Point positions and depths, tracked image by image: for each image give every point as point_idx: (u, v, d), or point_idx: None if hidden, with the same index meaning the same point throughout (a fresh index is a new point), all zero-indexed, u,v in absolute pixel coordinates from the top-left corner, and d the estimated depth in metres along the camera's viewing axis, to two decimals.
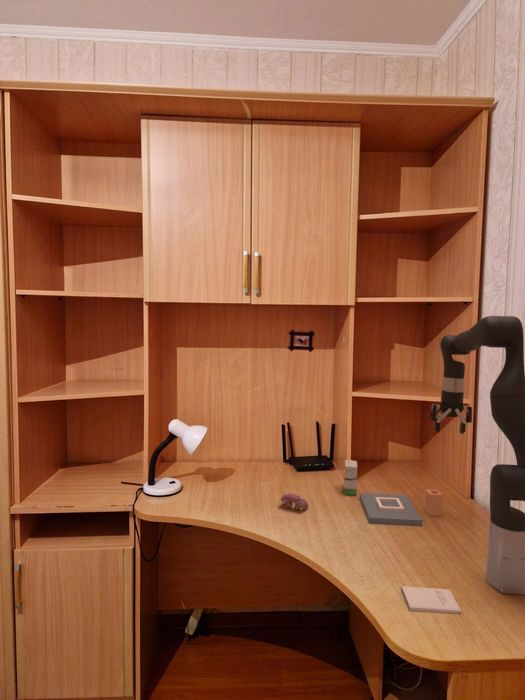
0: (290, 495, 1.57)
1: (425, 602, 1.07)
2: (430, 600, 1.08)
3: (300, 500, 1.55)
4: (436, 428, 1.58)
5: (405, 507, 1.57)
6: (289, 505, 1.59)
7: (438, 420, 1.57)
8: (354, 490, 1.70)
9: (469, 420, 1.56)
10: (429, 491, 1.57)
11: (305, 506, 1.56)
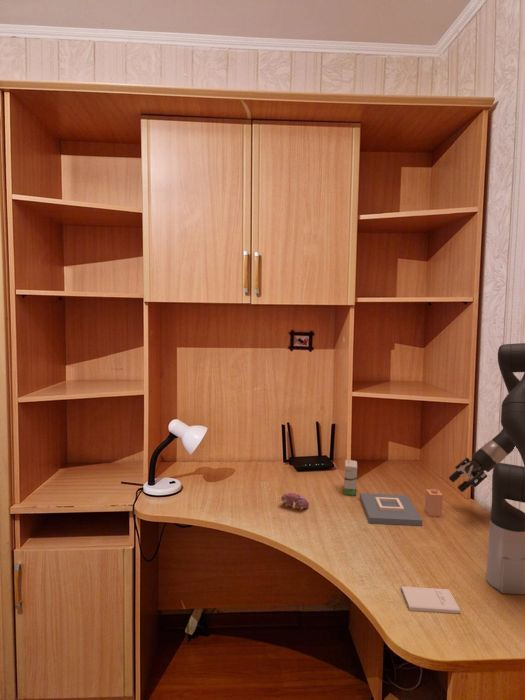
0: (291, 494, 1.58)
1: (425, 602, 1.07)
2: (430, 600, 1.08)
3: (301, 499, 1.56)
4: None
5: (405, 507, 1.57)
6: (290, 504, 1.59)
7: (457, 469, 1.60)
8: (354, 490, 1.70)
9: (471, 480, 1.49)
10: (429, 491, 1.57)
11: (306, 505, 1.57)
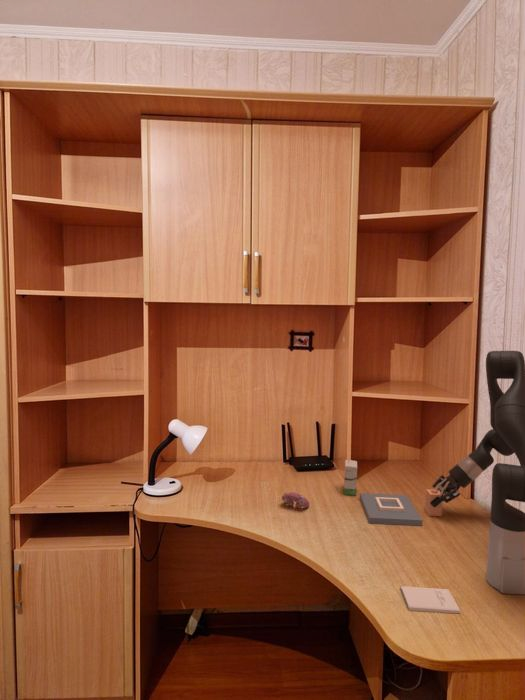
0: (291, 494, 1.58)
1: (424, 602, 1.07)
2: (429, 600, 1.08)
3: (301, 499, 1.56)
4: None
5: (405, 507, 1.57)
6: (290, 504, 1.60)
7: (434, 488, 1.59)
8: (354, 490, 1.70)
9: (442, 495, 1.52)
10: (429, 491, 1.57)
11: (306, 505, 1.57)
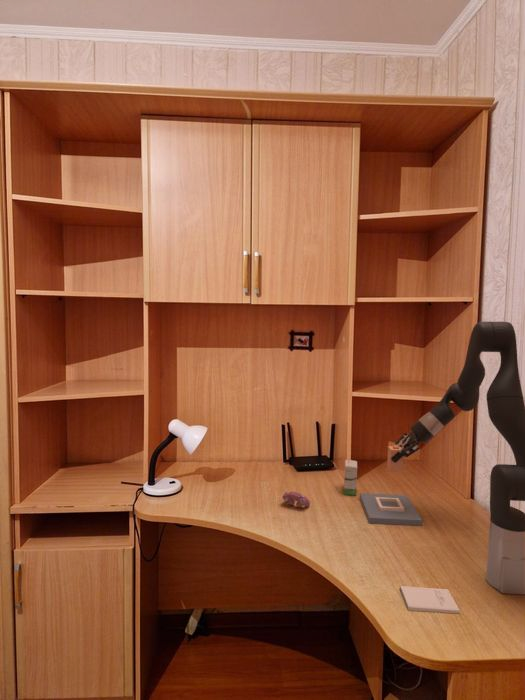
0: (292, 493, 1.59)
1: (424, 602, 1.07)
2: (429, 600, 1.08)
3: (302, 498, 1.57)
4: None
5: (405, 507, 1.57)
6: (291, 503, 1.60)
7: None
8: (354, 490, 1.70)
9: (402, 450, 1.51)
10: (391, 447, 1.57)
11: (307, 504, 1.58)
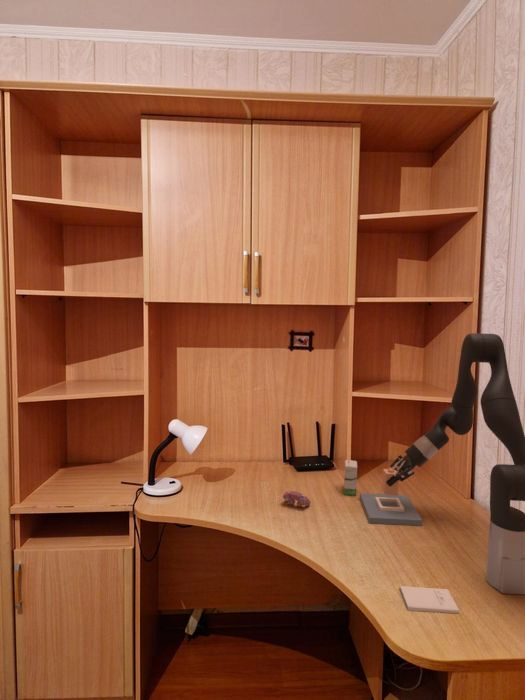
0: (292, 492, 1.59)
1: (423, 602, 1.07)
2: (428, 600, 1.08)
3: (302, 497, 1.57)
4: None
5: (405, 507, 1.57)
6: (291, 502, 1.61)
7: None
8: (354, 490, 1.70)
9: (398, 474, 1.52)
10: (386, 470, 1.57)
11: (307, 503, 1.58)
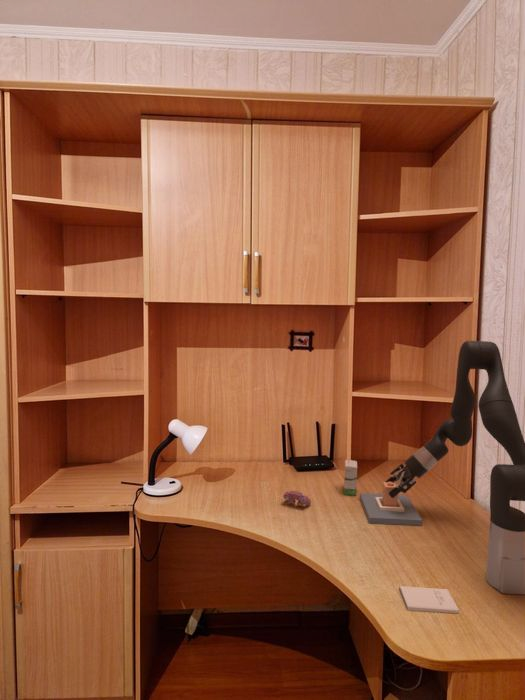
0: (293, 492, 1.60)
1: (423, 602, 1.07)
2: (428, 600, 1.08)
3: (303, 497, 1.58)
4: (386, 481, 1.62)
5: (405, 507, 1.57)
6: (292, 502, 1.61)
7: (391, 475, 1.61)
8: (354, 490, 1.70)
9: (400, 486, 1.51)
10: (385, 484, 1.58)
11: (308, 503, 1.59)
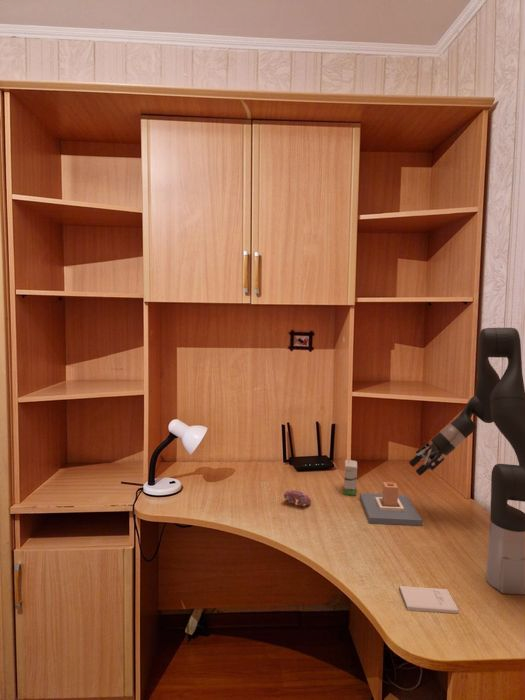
0: (293, 492, 1.60)
1: (423, 602, 1.07)
2: (428, 600, 1.08)
3: (303, 496, 1.58)
4: (411, 460, 1.60)
5: (405, 507, 1.57)
6: (292, 501, 1.62)
7: (417, 453, 1.60)
8: (354, 490, 1.70)
9: (428, 463, 1.49)
10: (385, 484, 1.58)
11: (308, 502, 1.59)
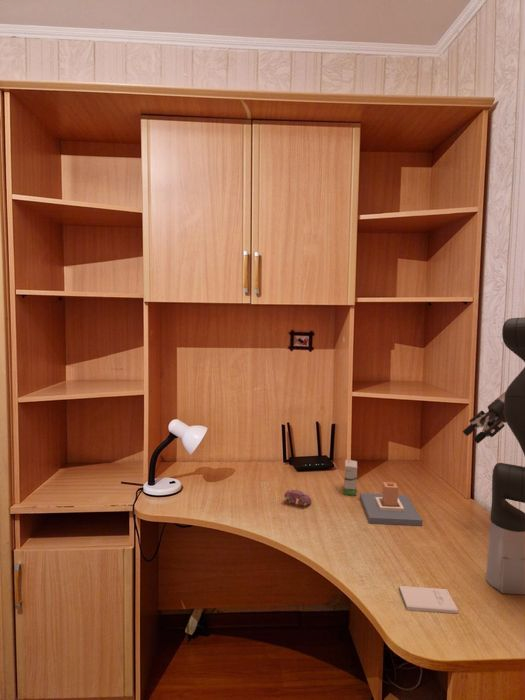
0: (294, 491, 1.61)
1: (422, 602, 1.08)
2: (427, 600, 1.08)
3: (304, 496, 1.59)
4: (465, 429, 1.52)
5: (405, 507, 1.57)
6: (293, 501, 1.62)
7: (471, 422, 1.52)
8: (354, 490, 1.70)
9: (487, 430, 1.41)
10: (385, 484, 1.58)
11: (308, 502, 1.60)
